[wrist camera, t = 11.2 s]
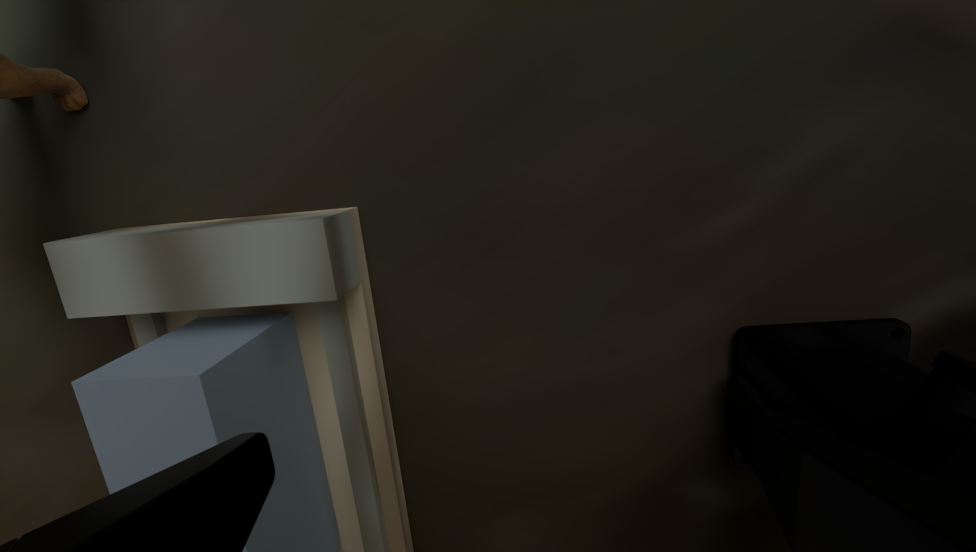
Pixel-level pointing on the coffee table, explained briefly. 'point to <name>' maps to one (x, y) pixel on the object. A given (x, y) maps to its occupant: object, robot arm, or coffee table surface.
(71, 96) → the lion figurine
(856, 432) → the robot arm
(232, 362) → the slate grey rectangular prism
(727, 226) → the coffee table surface
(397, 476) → the cradle
